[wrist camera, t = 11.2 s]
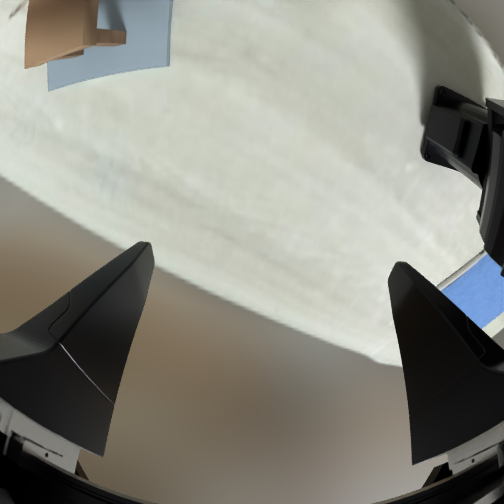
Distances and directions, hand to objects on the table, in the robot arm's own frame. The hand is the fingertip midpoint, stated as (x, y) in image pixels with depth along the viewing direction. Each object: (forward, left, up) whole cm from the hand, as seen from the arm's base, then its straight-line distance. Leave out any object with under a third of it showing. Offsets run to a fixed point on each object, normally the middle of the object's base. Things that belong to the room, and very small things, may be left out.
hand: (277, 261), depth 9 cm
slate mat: (+13, -12, -12) cm, 21 cm away
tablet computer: (-32, +14, -13) cm, 37 cm away
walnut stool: (+13, -11, -11) cm, 21 cm away
